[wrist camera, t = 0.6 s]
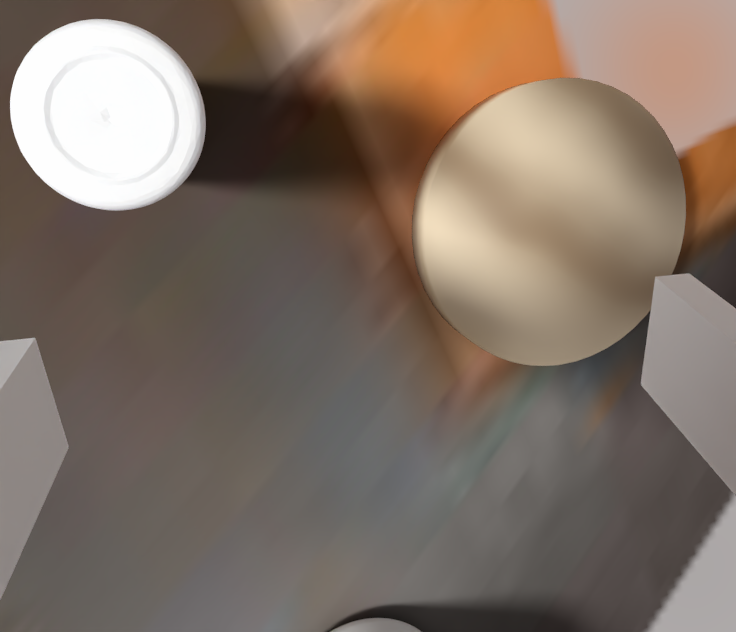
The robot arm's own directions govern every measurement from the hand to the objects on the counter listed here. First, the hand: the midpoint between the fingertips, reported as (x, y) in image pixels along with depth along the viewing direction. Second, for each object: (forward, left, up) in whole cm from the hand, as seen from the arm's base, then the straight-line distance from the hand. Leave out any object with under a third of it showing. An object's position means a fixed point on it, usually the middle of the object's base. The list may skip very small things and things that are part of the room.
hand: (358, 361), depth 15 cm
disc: (-6, +11, -18) cm, 22 cm away
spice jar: (-2, -7, -18) cm, 19 cm away
